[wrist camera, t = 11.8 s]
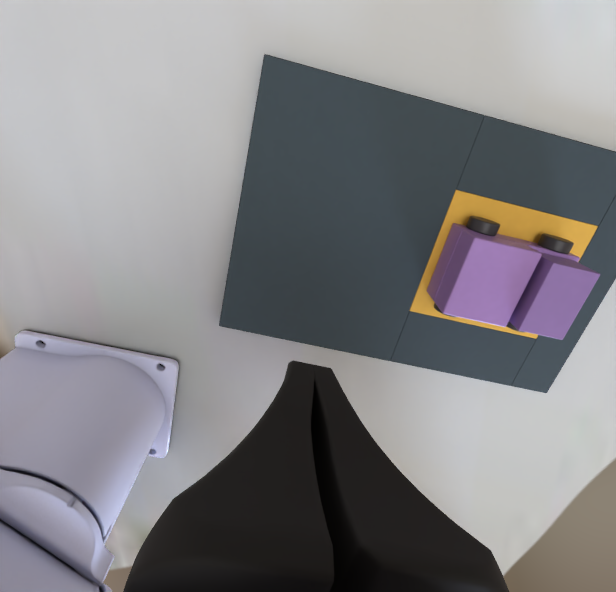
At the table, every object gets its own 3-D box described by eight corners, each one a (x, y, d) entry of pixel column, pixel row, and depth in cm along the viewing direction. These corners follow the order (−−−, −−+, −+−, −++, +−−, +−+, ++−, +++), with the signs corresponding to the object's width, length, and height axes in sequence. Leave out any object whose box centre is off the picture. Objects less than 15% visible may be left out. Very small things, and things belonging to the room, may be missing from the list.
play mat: (220, 322, 23) (218, 326, 23) (265, 55, 17) (264, 53, 17) (543, 389, 25) (546, 393, 25) (674, 169, 20) (681, 169, 19)
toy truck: (422, 300, 22) (441, 329, 19) (457, 210, 20) (485, 227, 17) (525, 323, 23) (560, 354, 20) (569, 238, 21) (616, 259, 17)
